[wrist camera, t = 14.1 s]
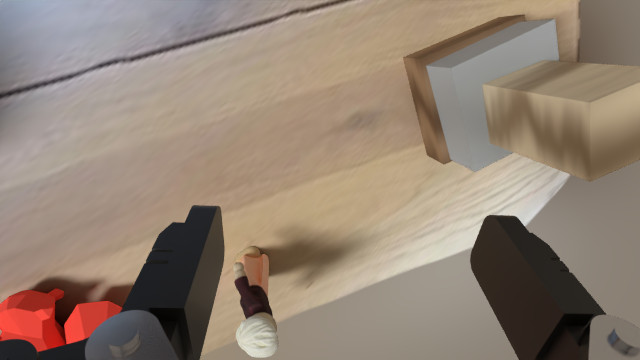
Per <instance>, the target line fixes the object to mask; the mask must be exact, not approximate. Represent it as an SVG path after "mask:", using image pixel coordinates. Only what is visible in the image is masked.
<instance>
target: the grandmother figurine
mask: <svg viewBox="0 0 640 360" xmlns="http://www.w3.org/2000/svg"><path fill="white" fill-rule="evenodd" d="M235 261H236V263H235V264H234V266H233V271H234V273H235V274H234V277H235V286H236V288H237V290H238V291H239V293H240V295H241V300H240V304H241V306H242V309H243V311H244V315H245V317H246V319H247V320H245V321H242V323H241V326H240V327H239V328H238V329H237V333H236V339H237V341H238V344H239V346H240V347H241V348H242V349H243V350H245V351H246V352H247V353H248V354H249V355H250V356H252V357H269V356H271V355H273V354H274V353H275V352H276V350H277V348H278V337H277V334H276V331H277V325H276V322H275V320H274V318H273V316H272V310H271V308H270V306H269V301H268V297H267V295H268V277H269V274H270V270H269V258H268V256H267V255H266V254H262V255H261V253H260V251H259V249H258V248H256V247H253V246H252V247H248V248H246V249H245V250H243V251H242V252H241V253H239V254H238V255H237V256H236V258H235Z"/></svg>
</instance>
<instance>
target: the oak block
mask: <svg viewBox="0 0 640 360" xmlns="http://www.w3.org/2000/svg"><path fill="white" fill-rule="evenodd" d="M482 87H483V95H484V103H485V111H486V119H487V127H488V135H489V142H490V143H491V144H493V145H496V146H498V147H501V148H504V149H506V150H509V151H511V152H514V153H517V154H519V155H522V156H524V157H527V158H530V159H532V160H535V161H537V162H540V163H543V164H545V165H548V166H550V167H553V168H556V169H558V170H561V171H563V172H566V173H569V174H571V175H574V176H576V177H579V178H582V179H584V180H587V181H589V182H591V181H593V180H595V179H598V178H600V177H602V176H604V175H607V174H609V173H611V172H613V171H616V170H618V169H620V168H622V167H625V166H627V165H629V164H631V163H634V162H636V161H638V160H640V66H626V65H610V64H595V63H579V62H563V61H547V60H542V61H540V62H537V63H535V64H532V65H530V66H527V67H525V68H522V69H520V70H517V71H515V72H512V73H510V74H507V75H505V76H502V77H500V78H497V79H495V80H492V81H489V82H487V83H484V84H482Z"/></svg>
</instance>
